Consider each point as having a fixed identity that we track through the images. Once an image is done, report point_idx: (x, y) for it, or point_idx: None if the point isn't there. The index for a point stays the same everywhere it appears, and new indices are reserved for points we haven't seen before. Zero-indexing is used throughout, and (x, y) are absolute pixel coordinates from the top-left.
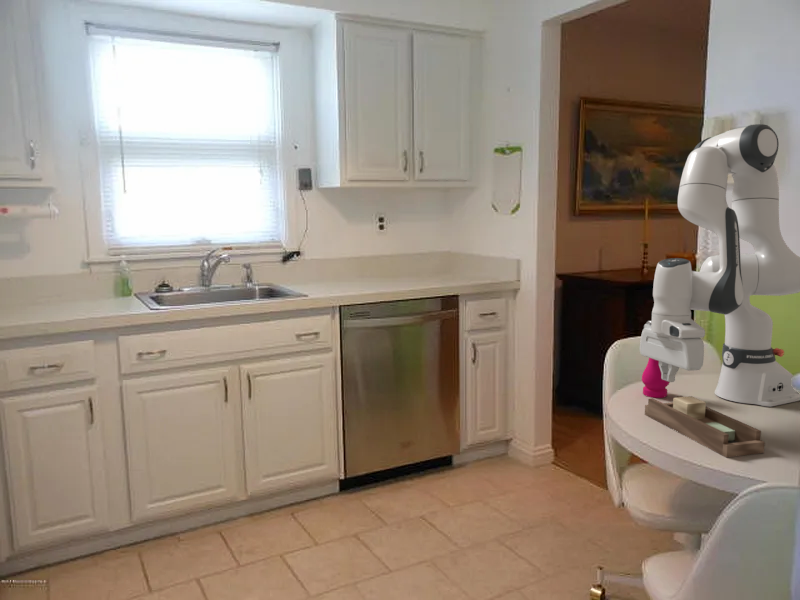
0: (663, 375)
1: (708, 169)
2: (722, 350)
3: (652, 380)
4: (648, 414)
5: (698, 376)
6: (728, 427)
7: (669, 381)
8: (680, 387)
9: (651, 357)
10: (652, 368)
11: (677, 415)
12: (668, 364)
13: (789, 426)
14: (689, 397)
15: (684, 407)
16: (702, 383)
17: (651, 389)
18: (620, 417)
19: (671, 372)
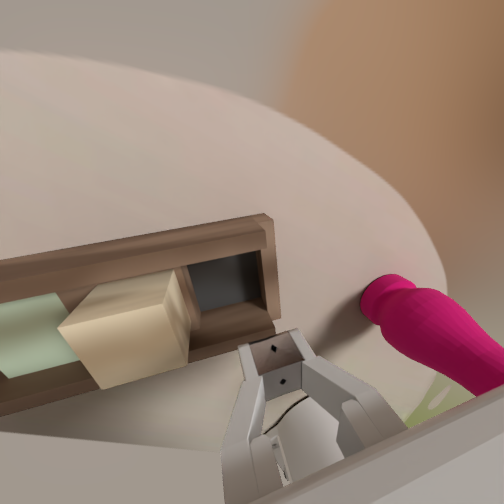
0: (291, 350)
1: None
2: None
3: (408, 309)
4: (247, 217)
5: (420, 385)
6: (38, 371)
7: (238, 348)
8: (394, 350)
9: (495, 404)
10: (453, 336)
11: (74, 263)
12: (274, 481)
13: (163, 443)
14: (169, 356)
15: (90, 309)
16: (393, 383)
17: (390, 294)
18: (251, 115)
19: (233, 414)
